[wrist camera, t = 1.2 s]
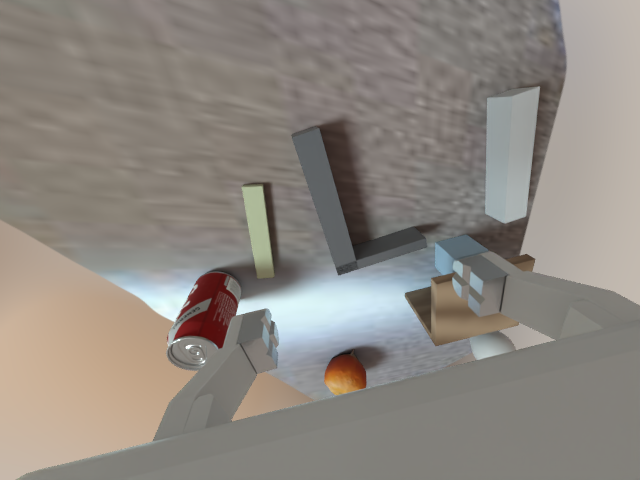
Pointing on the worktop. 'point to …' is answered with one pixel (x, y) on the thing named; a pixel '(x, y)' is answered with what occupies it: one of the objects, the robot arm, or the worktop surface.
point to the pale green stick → (259, 229)
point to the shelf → (457, 309)
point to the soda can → (203, 321)
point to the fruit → (345, 374)
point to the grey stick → (510, 152)
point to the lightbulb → (490, 345)
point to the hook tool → (332, 214)
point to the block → (455, 252)
